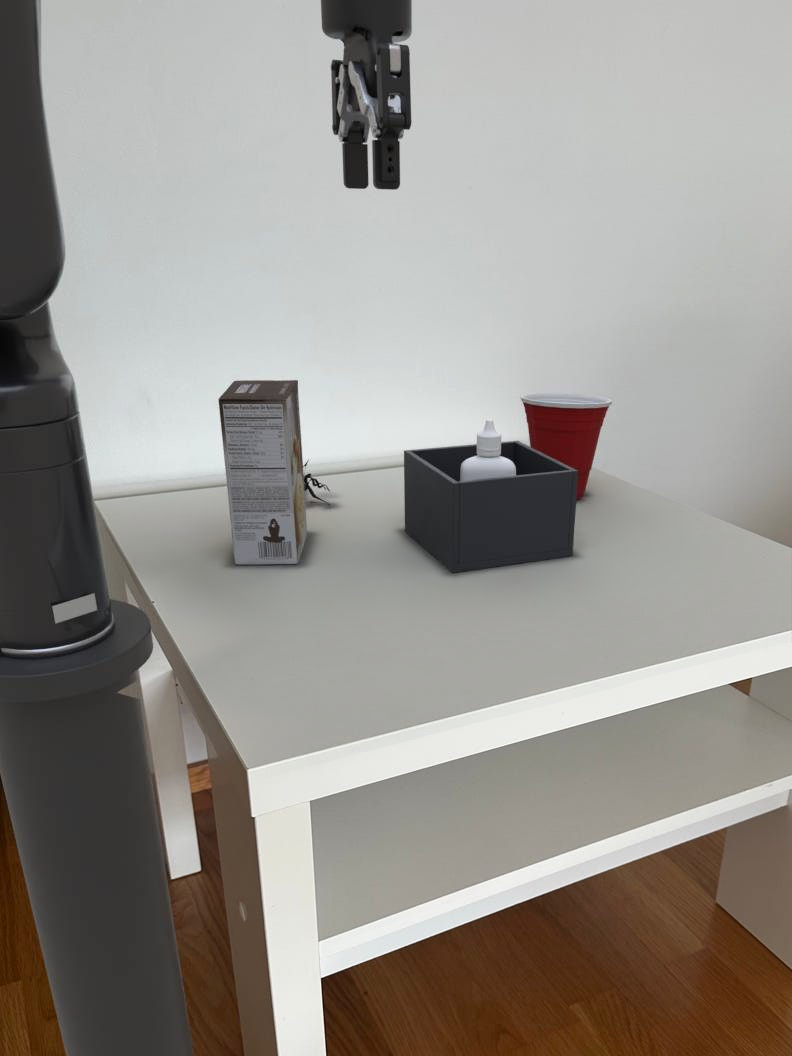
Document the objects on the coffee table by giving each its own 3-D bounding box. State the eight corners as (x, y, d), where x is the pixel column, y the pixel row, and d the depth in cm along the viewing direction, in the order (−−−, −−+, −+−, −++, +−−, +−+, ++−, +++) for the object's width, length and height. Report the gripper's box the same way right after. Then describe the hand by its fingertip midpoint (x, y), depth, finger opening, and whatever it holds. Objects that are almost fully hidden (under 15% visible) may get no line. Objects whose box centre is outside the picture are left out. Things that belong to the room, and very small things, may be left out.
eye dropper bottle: (470, 526, 100) (473, 413, 95) (519, 534, 98) (524, 419, 93) (452, 537, 96) (454, 421, 91) (502, 546, 94) (507, 427, 89)
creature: (307, 497, 114) (250, 495, 109) (313, 453, 113) (255, 449, 107) (345, 513, 109) (287, 511, 104) (352, 467, 108) (293, 462, 102)
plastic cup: (607, 485, 118) (615, 389, 113) (602, 510, 109) (610, 406, 104) (522, 479, 120) (526, 384, 115) (509, 503, 110) (513, 400, 105)
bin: (452, 573, 90) (453, 483, 86) (404, 531, 100) (403, 450, 97) (572, 555, 95) (578, 470, 91) (514, 518, 106) (517, 440, 102)
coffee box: (247, 534, 98) (232, 378, 91) (308, 534, 99) (299, 379, 92) (233, 566, 90) (216, 396, 83) (300, 565, 91) (289, 397, 84)
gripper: (298, -20, 81) (308, 187, 88) (347, -55, 69) (354, 188, 76) (380, -11, 84) (384, 190, 91) (441, -42, 72) (440, 190, 79)
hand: (370, 189), depth 84 cm, fingers open, 8 cm apart
